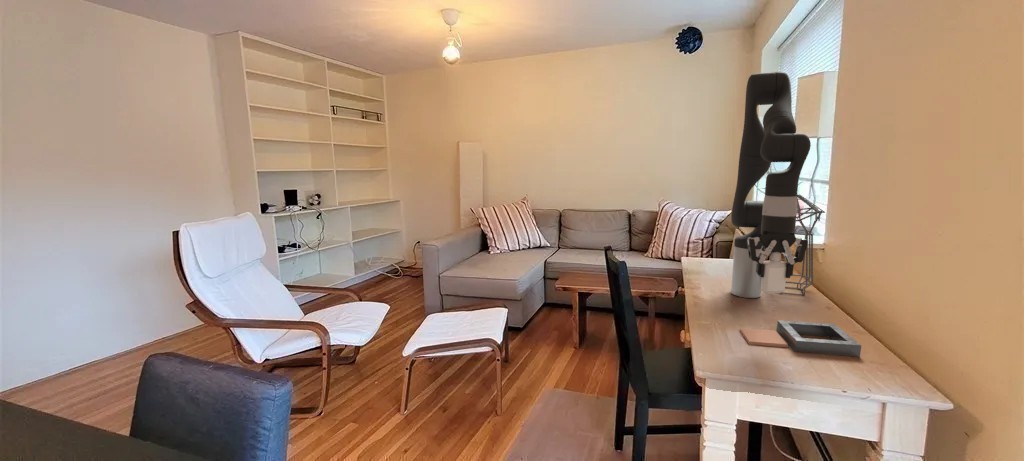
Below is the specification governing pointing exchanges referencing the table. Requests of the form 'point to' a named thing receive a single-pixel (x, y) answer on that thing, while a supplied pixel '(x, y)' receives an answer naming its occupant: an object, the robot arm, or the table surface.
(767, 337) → the terracotta tile
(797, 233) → the geometric lantern
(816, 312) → the table surface
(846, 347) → the socket plate
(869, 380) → the table surface
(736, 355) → the table surface
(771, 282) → the eye dropper bottle
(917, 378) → the table surface
